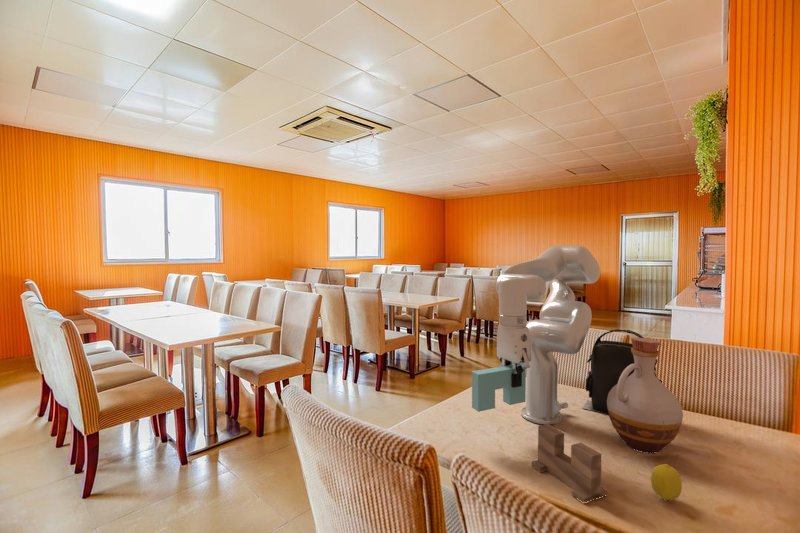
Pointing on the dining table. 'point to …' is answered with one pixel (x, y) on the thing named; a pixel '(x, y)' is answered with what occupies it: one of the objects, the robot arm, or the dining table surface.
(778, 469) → the dining table surface
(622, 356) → the shoulder bag
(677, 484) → the lemon
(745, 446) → the dining table surface
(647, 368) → the jug
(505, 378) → the teal notched arch
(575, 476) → the walnut stand
